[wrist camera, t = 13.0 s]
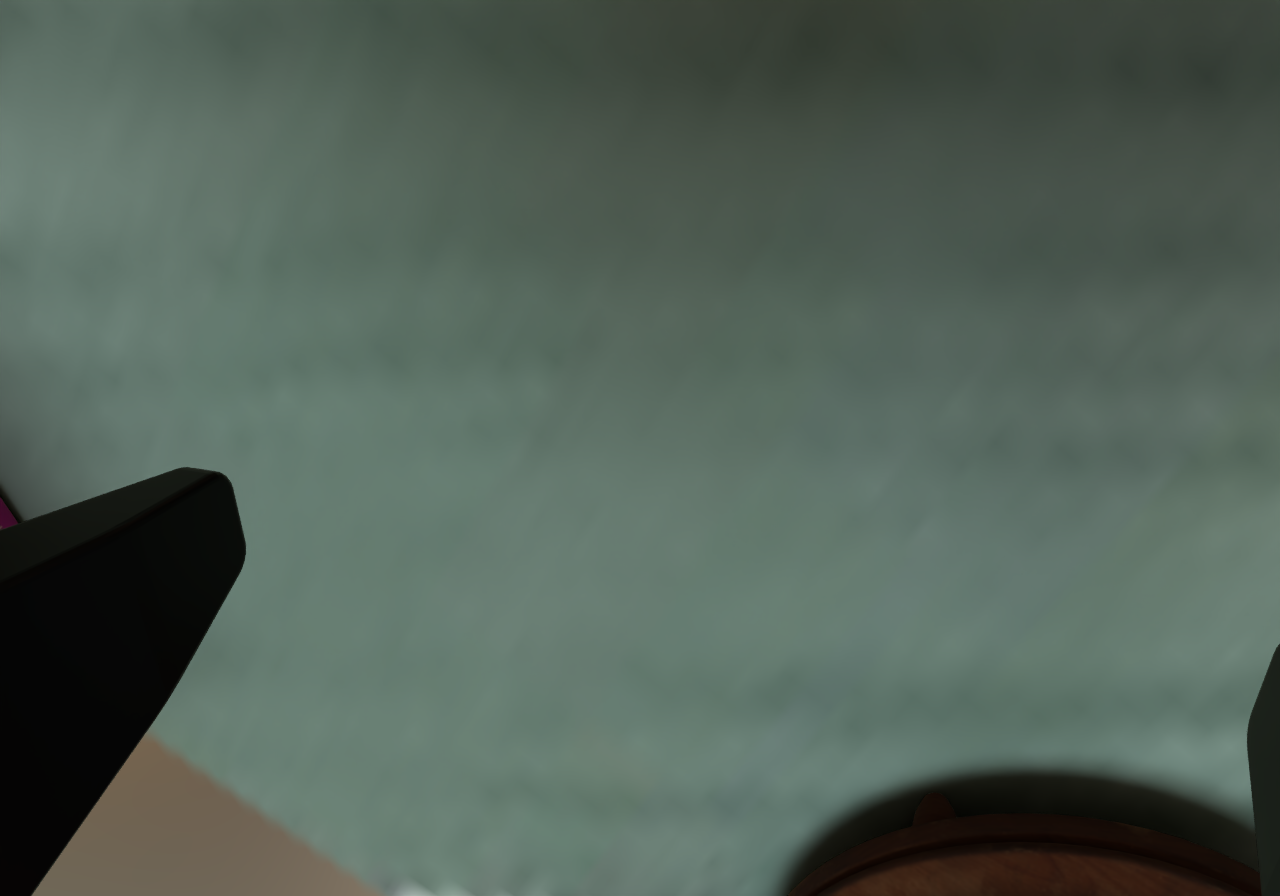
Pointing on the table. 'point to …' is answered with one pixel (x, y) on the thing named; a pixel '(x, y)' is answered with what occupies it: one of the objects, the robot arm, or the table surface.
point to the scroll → (1026, 860)
